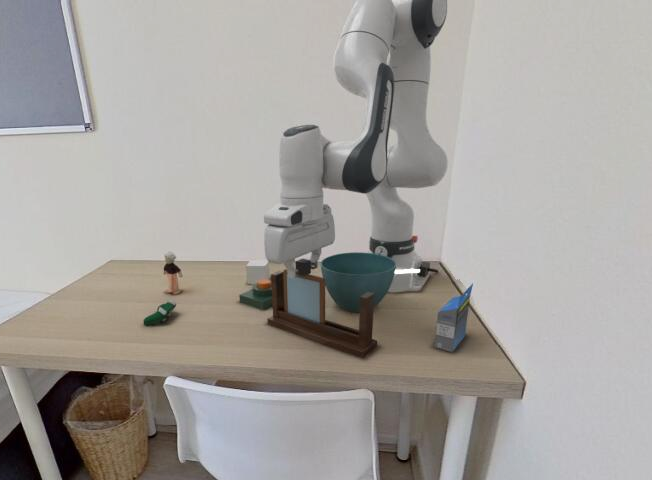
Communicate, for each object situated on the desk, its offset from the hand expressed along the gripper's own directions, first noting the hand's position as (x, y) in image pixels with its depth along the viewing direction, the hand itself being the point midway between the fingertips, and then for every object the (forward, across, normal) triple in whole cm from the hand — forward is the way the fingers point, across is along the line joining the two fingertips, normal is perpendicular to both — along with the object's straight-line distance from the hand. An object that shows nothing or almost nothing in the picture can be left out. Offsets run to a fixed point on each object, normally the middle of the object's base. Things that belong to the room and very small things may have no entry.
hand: (303, 272), depth 87 cm
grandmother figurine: (+14, +4, -46) cm, 48 cm away
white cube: (+14, -18, -32) cm, 39 cm away
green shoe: (+14, +17, -33) cm, 40 cm away
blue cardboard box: (+14, -14, +28) cm, 34 cm away
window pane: (+12, 0, 0) cm, 12 cm away
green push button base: (+14, -8, -20) cm, 26 cm away
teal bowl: (+14, -18, +3) cm, 23 cm away
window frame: (+14, 0, +4) cm, 15 cm away
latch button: (+10, -8, -20) cm, 24 cm away
